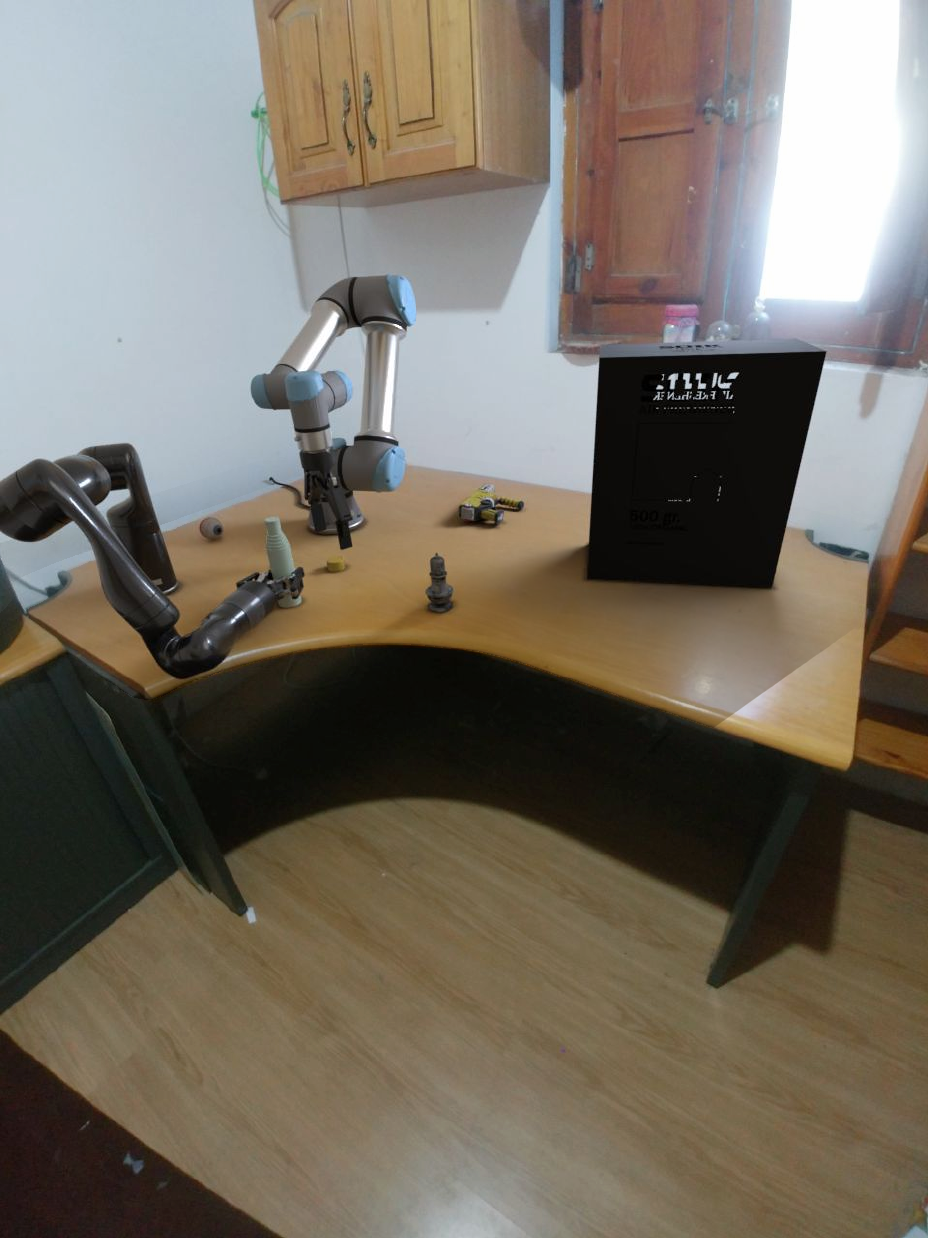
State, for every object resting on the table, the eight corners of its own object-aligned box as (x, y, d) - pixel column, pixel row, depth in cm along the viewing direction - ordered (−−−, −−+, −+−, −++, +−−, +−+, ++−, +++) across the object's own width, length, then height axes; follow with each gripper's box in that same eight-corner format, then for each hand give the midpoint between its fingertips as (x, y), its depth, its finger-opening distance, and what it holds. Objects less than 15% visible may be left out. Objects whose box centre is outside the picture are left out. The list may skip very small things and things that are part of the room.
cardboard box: (752, 548, 142) (795, 338, 119) (772, 587, 124) (826, 351, 102) (589, 543, 149) (600, 344, 127) (586, 579, 132) (599, 357, 110)
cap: (332, 573, 142) (331, 564, 141) (325, 568, 145) (323, 559, 144) (348, 568, 144) (346, 559, 143) (340, 563, 147) (338, 554, 146)
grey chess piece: (451, 613, 122) (447, 559, 116) (423, 611, 123) (418, 558, 117) (457, 599, 127) (454, 547, 121) (430, 598, 128) (425, 546, 122)
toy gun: (532, 488, 178) (484, 481, 182) (510, 513, 158) (457, 504, 162) (530, 504, 181) (483, 496, 185) (509, 529, 161) (456, 520, 165)
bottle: (274, 604, 130) (254, 520, 120) (291, 595, 133) (273, 513, 124) (289, 609, 127) (270, 524, 118) (306, 600, 131) (288, 517, 121)
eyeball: (213, 544, 161) (207, 523, 158) (198, 540, 164) (191, 520, 161) (231, 536, 165) (225, 516, 162) (216, 533, 168) (210, 512, 165)
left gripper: (275, 593, 111) (317, 555, 126) (209, 587, 115) (257, 551, 129) (283, 628, 115) (323, 587, 129) (219, 621, 119) (264, 583, 133)
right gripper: (278, 441, 137) (297, 528, 148) (325, 464, 120) (342, 561, 131) (308, 434, 141) (325, 519, 152) (358, 456, 123) (373, 550, 134)
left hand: (290, 570), depth 129 cm, fingers closed on bottle, 4 cm apart
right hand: (333, 539), depth 141 cm, fingers open, 13 cm apart
